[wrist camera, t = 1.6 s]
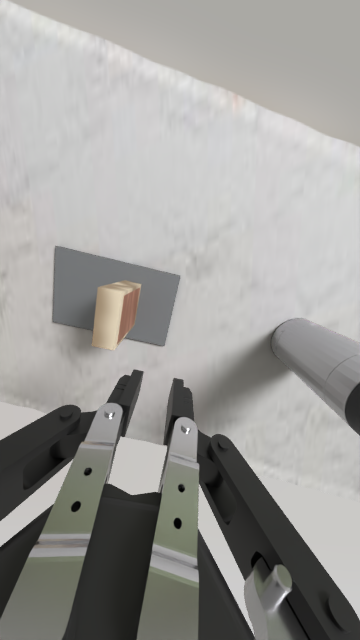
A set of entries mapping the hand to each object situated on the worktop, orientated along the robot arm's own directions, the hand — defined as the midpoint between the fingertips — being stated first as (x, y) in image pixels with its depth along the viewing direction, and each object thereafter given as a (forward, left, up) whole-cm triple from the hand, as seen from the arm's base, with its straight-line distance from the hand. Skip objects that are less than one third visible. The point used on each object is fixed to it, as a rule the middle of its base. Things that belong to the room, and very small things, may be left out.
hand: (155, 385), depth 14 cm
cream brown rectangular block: (+8, 0, -22) cm, 23 cm away
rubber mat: (+11, 0, -22) cm, 25 cm away
